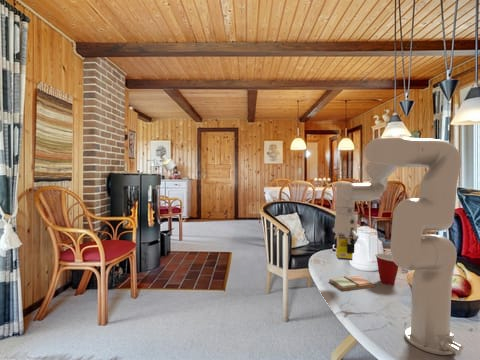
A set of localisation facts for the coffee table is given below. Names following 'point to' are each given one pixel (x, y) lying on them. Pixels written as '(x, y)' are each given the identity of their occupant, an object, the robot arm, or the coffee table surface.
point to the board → (351, 283)
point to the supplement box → (343, 248)
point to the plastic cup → (386, 268)
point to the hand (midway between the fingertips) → (344, 250)
